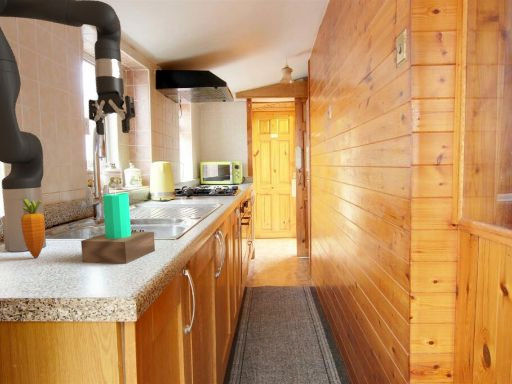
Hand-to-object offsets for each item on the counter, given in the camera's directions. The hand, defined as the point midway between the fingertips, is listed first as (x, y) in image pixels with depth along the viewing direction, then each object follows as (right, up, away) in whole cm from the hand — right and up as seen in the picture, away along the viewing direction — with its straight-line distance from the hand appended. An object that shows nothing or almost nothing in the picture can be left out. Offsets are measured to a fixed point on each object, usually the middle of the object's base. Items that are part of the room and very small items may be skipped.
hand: (113, 133), depth 103 cm
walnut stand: (+9, -33, -16) cm, 38 cm away
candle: (+8, -28, -17) cm, 34 cm away
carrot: (-13, -34, -15) cm, 40 cm away
